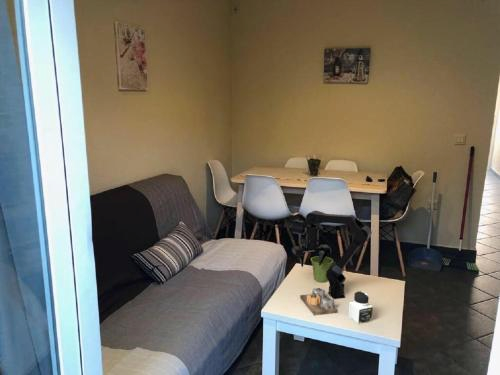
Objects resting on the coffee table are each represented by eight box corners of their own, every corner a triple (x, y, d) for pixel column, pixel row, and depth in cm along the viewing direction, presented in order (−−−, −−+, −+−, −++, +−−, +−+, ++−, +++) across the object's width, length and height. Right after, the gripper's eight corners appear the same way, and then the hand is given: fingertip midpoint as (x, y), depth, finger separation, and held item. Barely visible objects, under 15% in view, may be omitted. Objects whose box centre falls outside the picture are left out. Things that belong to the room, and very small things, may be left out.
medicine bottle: (358, 324, 172) (360, 298, 170) (348, 316, 179) (349, 291, 177) (371, 321, 175) (374, 295, 173) (361, 313, 182) (363, 288, 179)
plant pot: (328, 275, 223) (330, 255, 221) (334, 284, 212) (335, 264, 209) (307, 275, 223) (308, 255, 220) (312, 284, 211) (313, 264, 209)
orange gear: (316, 298, 192) (317, 292, 191) (321, 304, 186) (322, 298, 186) (305, 299, 191) (305, 293, 190) (310, 305, 185) (310, 299, 184)
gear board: (321, 295, 198) (322, 285, 197) (336, 312, 182) (337, 301, 181) (300, 298, 196) (300, 287, 194) (313, 315, 179) (314, 303, 178)
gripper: (323, 230, 211) (321, 259, 214) (289, 232, 206) (287, 261, 209) (332, 237, 200) (330, 267, 203) (296, 239, 196) (295, 269, 199)
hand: (310, 266), depth 204 cm, fingers open, 9 cm apart
